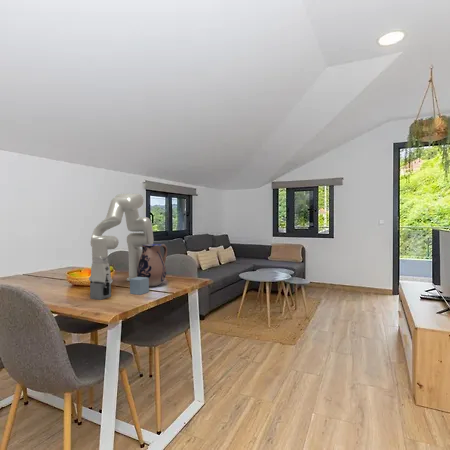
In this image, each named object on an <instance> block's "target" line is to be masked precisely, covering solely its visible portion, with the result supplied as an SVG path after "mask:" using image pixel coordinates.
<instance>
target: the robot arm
mask: <svg viewBox="0 0 450 450" xmlns="http://www.w3.org/2000/svg"><path fill="white" fill-rule="evenodd" d="M144 202H145V201H144V197H143V194H141V193H120V194H117V195H116V196H115V197H113V198H112V199H111V200H110V203H109V206H108V210H107V213H106V217H105V218H104V219H103V220H101V222H99V223H98V224H97V226H95V228H94V229H93V231H92V235H91V238H90V246H91V257H92V258H91V259H92V260H91V261H92V263H91V267H90V275H89V277H88V281H89V284H90V283H93V282H98V283H104V288H103V289H104V296H105V295H109V287H110V285H111V286H112V283H113V281H114V280H113V279H112V274H111V267H110V263H109V257H108V250H115V249H116V248H117V247H118V245H119V239H118V237H116V236H115V235H103V234H104V233H105V232H106V231H108V230H111V229H112V228H114V227H117V226H119V225H120V224H121V223H122V220H123V216H124V217H125V223H126V227H127V230H128V231H129V232H131V233H129V234H127V236H126V243H127V248H128V249H127V251H128V277H127V278H126V281H127V282H130V279H132V278H136V277H137V268H138V263H139V260H140V256H141V254H142V245H148V244H154V240H155V239H154V232H153V231H154V230H153V225H152V220H151V219H150V218H149V217H145V216H142V217H141V216H140V214H139V208H141V207H142V206H143V205H144ZM106 283H107V284H106Z"/></svg>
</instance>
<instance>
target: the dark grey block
mask: <svg viewBox="0 0 450 450" xmlns="http://www.w3.org/2000/svg"><path fill="white" fill-rule="evenodd" d="M106 284H107V283H106ZM103 288H104V283H98V282H93V283H90V282H89V293H90V295H89V297H90V299H91V300H99V301H101V300H105V299H107V298H108V299H109V298H111V297H112V284H111V285H110V287H109V295H105V296H104V289H103Z"/></svg>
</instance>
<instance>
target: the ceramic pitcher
mask: <svg viewBox="0 0 450 450" xmlns="http://www.w3.org/2000/svg"><path fill="white" fill-rule="evenodd" d="M161 248H163V250H164V252H163V255H162V252H161ZM141 250H142V254H141V256H140V260H139V263H138V268H137V277H147V278H149V287H157V286H160V285H161V284H162V283H163V282H164V281H165V279H166V276H167V268H166V265H165V264H166V261H167V257H168V247H167V245H166V244H165V243H153V244H148V245H142V247H141Z"/></svg>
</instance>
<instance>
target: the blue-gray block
mask: <svg viewBox="0 0 450 450" xmlns="http://www.w3.org/2000/svg"><path fill="white" fill-rule="evenodd" d="M149 292H150V286H149V278H147V277H136V278H132V279H130V281H129V294H130V295H139V296H141V295H143V294H147V293H149Z"/></svg>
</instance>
